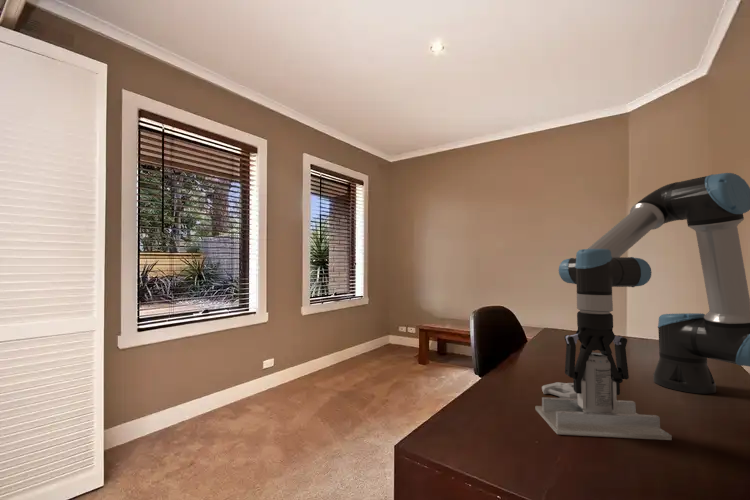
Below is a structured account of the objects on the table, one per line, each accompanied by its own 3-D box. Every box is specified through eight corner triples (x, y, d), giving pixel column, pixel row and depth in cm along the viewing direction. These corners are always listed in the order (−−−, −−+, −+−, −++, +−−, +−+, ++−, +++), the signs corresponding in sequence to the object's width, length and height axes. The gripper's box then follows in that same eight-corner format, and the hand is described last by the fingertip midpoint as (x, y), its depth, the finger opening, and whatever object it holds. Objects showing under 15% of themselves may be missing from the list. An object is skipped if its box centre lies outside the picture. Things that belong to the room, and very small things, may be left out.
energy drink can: (598, 411, 89) (596, 351, 90) (618, 421, 83) (616, 357, 84) (577, 412, 88) (575, 352, 89) (596, 423, 82) (594, 358, 83)
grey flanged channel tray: (632, 413, 92) (631, 398, 92) (671, 440, 78) (671, 421, 78) (535, 409, 94) (535, 394, 94) (557, 434, 80) (556, 416, 80)
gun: (579, 374, 114) (610, 384, 105) (580, 384, 114) (610, 395, 105) (536, 383, 108) (565, 395, 98) (537, 395, 108) (565, 408, 98)
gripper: (626, 310, 90) (629, 403, 89) (547, 309, 92) (549, 399, 91) (646, 314, 82) (649, 415, 81) (560, 313, 84) (562, 411, 83)
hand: (596, 407), depth 86 cm, fingers open, 6 cm apart
